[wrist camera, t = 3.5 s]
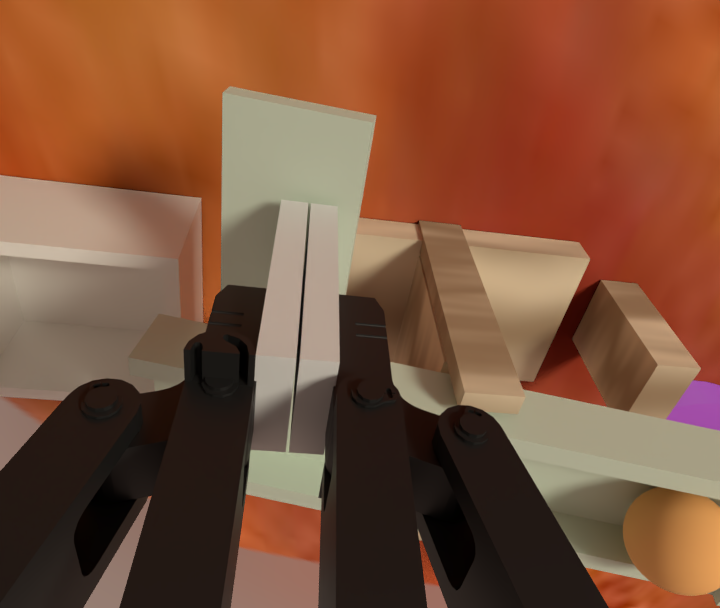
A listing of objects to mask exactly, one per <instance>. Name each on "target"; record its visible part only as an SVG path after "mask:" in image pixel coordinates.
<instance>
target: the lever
mask: <svg viewBox="0 0 720 608" xmlns="http://www.w3.org/2000/svg"><path fill="white" fill-rule="evenodd" d="M375 121H376V115H371V114H366V113H361V112H356V111H351V110H346V109H341V108H336V107H331V106H326V105H321V104H316V103H311V102H306V101H301V100H296V99H291V98H286V97H281V96H276V95H271V94H266V93H261V92H256V91H251V90H246V89H241V88H236V87H231V86H230V87H229V88H228V89H226V90H225V91H224V92H223V108H222V225H221V291H222V290H223V289H224V288H225V287H226V286H227V285H238V286H248V287H258V288H267V284H268V278H269V272H270V266H271V260H272V254H273V247H274V241H275V235H276V229H277V223H278V217H279V211H280V205H281V200H289V201H298V202H306V203H308V214H307V227H306V240H305V253H306V243H307V234H308V225H309V216H310V207H311V203H314V204H323V205H331V206H338V272H339V294H341V295H346V292H347V286H348V280H349V274H350V268H351V262H352V257H353V251H354V245H355V239H356V233H357V227H358V221H359V215H360V209H361V204H362V198H363V192H364V186H365V180H366V174H367V168H368V162H369V156H370V151H371V145H372V139H373V133H374V127H375ZM305 253H304V262H305ZM303 271H304V265H303ZM302 280H303V278H302ZM301 292H302V291H301ZM300 304H301V303H300ZM299 317H300V316H299ZM207 325H208V324H207V323H202V322H197V321H193V320H188V319H183V318H178V317H173V316H169V315H164V314H158V316H157V317H156V318H155V320H154V321H153V323H152V324H151V325H150V327H149V328H148V330H147V331H146V332H145V334H144V335H143V337H142V338H141V339H140V341H139V342H138V344H137V345H136V347H135V348H134V349H133V351H132V352H131V354H130V355H129V356H128V362H129V370H130V375H133V376H138V377H142V378H147V379H152V380H154V386H155V391H159V390H163V389H167V388H170V387H173V386H175V385H177V384H179V383H181V382H182V381H184V380H185V378H184V353H183V349H184V347H185V346H186V344H187V343H188V341H189V340H191V339H192V338H194V337H195V336H197V335H198V334H201V333H204V332H206V328H207ZM298 330H299V329H298ZM297 343H298V341H297ZM296 356H297V354H296ZM390 364H391V373H392V381H393V384H394V386H395V387H396V388H397V389H398V390H399V393H400V395H401V397H402V398H403V399H404V400H405V401H407V402H408V403H410V404H411V405H413V406H415V407H417V408H420V409H422V410H425V411H428V412H431V413H434V414H437V415H440V414H441V413H443V412H444V411H445V410H446V409H447V408H449V407H453V406H456V405H457V402H456V398H455V394H454V390H453V386H452V382H451V378H450V374H446V373H441V372H436V371H432V370H427V369H422V368H417V367H413V366H408V365H403V364H398V363H393V362H390ZM295 369H296V364H295ZM294 382H295V373H294ZM294 382H293V391H292V400H291V409H290V418H289V426H288V435H287V444H286V452H275V451H260V450H251V451H250V460H249V474H248V482H247V489H246V494H248V495H252V496H257V497H262V498H266V499H271V500H276V501H280V502H285V503H290V504H294V505H299V506H303V507H308V508H313V509H317V510H321V499H322V498H318V497H319V491H320V485H321V480H322V474H323V468H324V463H325V450H324V455H319V454H304V453H289V446H290V433H291V420H292V407H293V394H294ZM523 391H524V394H525V396H526V398H525V400H524V402H523V404H522V406H521V408H520V411H519V413H518V414H508V413H493V412H487V413H488V414H490V415H491V416H493V417H494V418H495V420H496V421H497V422H498V423H499V424H500V425H501V427H502V429H503V430H504V432H505V434H506V435H507V437H508V439H509V440H510V442H511V444H512V445H513V447H514V449H515V450H516V452H517V454H518V456H519V457H520V459H521V461H522V462H523V464H524V466H525V467H526V469H527V471H528V472H529V474H530V476H531V477H532V479H533V481H534V483H535V484H536V486H537V488H538V489H539V491H540V493H541V494H542V496H543V498H544V499H545V501H546V503H547V504H548V506H549V508H550V510H551V511H552V513H553V515H554V516H555V518H556V520H557V521H558V523H559V525H560V526H561V528H562V530H563V531H564V533H565V535H566V537H567V538H568V540H569V542H570V543H571V545H572V547H573V548H574V550H575V552H576V553H577V555H578V557H579V558H580V560H581V562H582V564H583V565H584V567H586V568H591V569H596V570H600V571H605V572H610V573H614V574H619V575H624V576H628V577H633V578H638V579H642V580H647V581H649V580H648V579H647V578H646V577H645V576H643V575H642V574H641V573H640V571H639V570H638V569H637V568H636V566H635V565H634V564H633V562H632V560H631V559H630V557H629V555H628V553H627V550H626V547H625V544H624V539H623V522H624V518H625V515H626V512H627V510H628V508H629V507H630V505H631V504H632V503H633V501H634V500H635V499H636V498H637V497H639V496H640V495H641V494H643V493H644V492H646V491H648V490H651V489H653V488H657V487H662V488H666V489H671V490H676V491H681V492H685V493H690V494H695V495H700V496H704V497H708V498H709V499H710V500H712V501H713V502H714V503H716V504H717V505H718V506H719V507H720V431H719V430H714V429H709V428H704V427H699V426H695V425H690V424H685V423H680V422H676V421H671V420H666V419H661V418H656V417H652V416H647V415H642V414H637V413H633V412H628V411H623V410H618V409H613V408H609V407H604V406H599V405H594V404H589V403H585V402H580V401H575V400H570V399H566V398H561V397H556V396H551V395H546V394H542V393H537V392H532V391H527V390H523ZM707 594H712V595H713V597H714V600H715V603H716V605H718V606H720V588H719V589H717V590H715V591H713V592H710V593H707Z"/></svg>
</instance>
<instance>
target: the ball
mask: <svg viewBox="0 0 720 608" xmlns="http://www.w3.org/2000/svg"><path fill="white" fill-rule="evenodd" d="M623 539H624V544H625V547H626V550H627V553H628V555H629V557H630V559H631V560H632V562H633V564H634V565H635V566H636V568H637V569H638V570H639V571H640V573H641V574H642V575H643V576H645V577H646V578H647V579H648V580H649V581H651V582H652V583H653V584H655V585H657V586H658V587H660V588H662V589H664V590H666V591H669V592H672V593H675V594H680V595H687V596H696V595H704V594H707V593H710V592H713V591H715V590H717V589H719V588H720V507H719V506H718V505H717V504H716V503H714V502H713V501H712V500H710V499H709V498H708V497H704V496H700V495H695V494H690V493H685V492H681V491H676V490H671V489H666V488H662V487H657V488H653V489H651V490H648V491H646V492H644V493H643V494H641V495H640V496H639V497H637V498H636V499H635V500H634V501H633V503H632V504H631V505H630V507H629V508H628V510H627V512H626V515H625V518H624V522H623Z"/></svg>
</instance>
